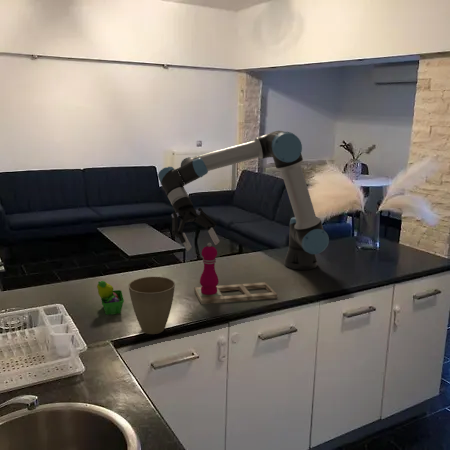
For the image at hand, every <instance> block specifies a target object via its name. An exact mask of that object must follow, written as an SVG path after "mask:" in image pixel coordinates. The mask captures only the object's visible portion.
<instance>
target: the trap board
mask: <svg viewBox="0 0 450 450" xmlns="http://www.w3.org/2000/svg"><path fill="white" fill-rule="evenodd" d="M201 287H202V286H197V287H196V286H195V287H194V288H193V289H194V293H195V295H196V297H197V299H198V301H199V303H200V304H201V305H208V304H219V303H220V304H221V303H233V302H243V301H244V302H245V301H246V302H247V301H257V300H267V299H270V300H271V299H277V298H278V294H277V292H275V290H274V288H272V287H271V286H270V285H269V284H268V283H267V282H265V281H264V282H254V283H253V282H251V283H237V284H225V285H222V284H221V285H217V286H216V287H217V293H216V294H213V295H206V294H203V293H201ZM256 289H266V290H267V292H259V293H251V292H250V291H249V290H256ZM229 291H240V293H241V294H234V295H233V294H232V295H223V294H222V292H229Z"/></svg>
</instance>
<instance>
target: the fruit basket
mask: <svg viewBox="0 0 450 450" xmlns="http://www.w3.org/2000/svg"><path fill="white" fill-rule="evenodd" d="M97 283H98V284H97V285H96V288H97V293H98V296H99V297H100V301H101V305H102V306H103V307H102V308H103V309H104V313H105V315H107V316H108V315H117V314H121V313H122V309H123V305H124V303H125V300H124V296H123V292H122V290H121V289H116V290H114V287H113V285H111V284H110V283H108V282H106V281H104V280H100V281H98V282H97Z"/></svg>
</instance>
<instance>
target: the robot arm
mask: <svg viewBox="0 0 450 450" xmlns="http://www.w3.org/2000/svg"><path fill="white" fill-rule="evenodd" d="M302 151H303V144H302V141H301V139H300V138H299V137H298V136H297V134H295V133H293V132H290V131H283V130H275V131H272V132H269V133H266V134H262V135H260V136H257V137H255V138H254V140H252V141H248V142H244V143H241V144H237V145H232V146H229V147H226V148H222V149H217V150H214V151H210V152H207V153H204V154H200V155H197V156H196V155H195V156H192V157H189V156H188V157H185V158H183V159H182V160H181V162H180V167H177V168H174V167H173V166H167V167H163V168H162V169H161V170H160V171H159V172H158V174H157V177H158V180H159V182H160V185H161V186H162V188H163V191H164V192H165V195H166V196H167V198H168V200H169V202H170V204H171V205H172V208H173V210H174V211H173V212H172V213H171V215H170V218H171V232H172V233H171V234H172V237H176V238H178V239H179V241H180V243H181V244H183V246H184V248H185V250H186V251H187V252H189V251H190V250H191V249H192V245H191V242H190V241H189V239H188V237H187V235H186V233H185V232H184V228H185V224H186V223H189V222H194V223H197V224H199V225H200V226H201V227H203V228H205V229H207V232H208V234H209V236H210V238H211V240H212V242H213V243H214V245H215V246H216V245H218V244H219V243H220V239H219V237H218V233H217V231H216V229H215V228H216V226H217V225H218V224H217V222H215V221H214V220H213V219H212V218H210V216H209V215H207V214H206V212H204V211H203V209H202V207H198V209H195V208H194V204H193V202H192V200H191V199H190V196H189V194H188V192H187V190H186V189H185V186H186V185H188V184H190V183H192V182H194V181H197V179H200V178H203V177H204V176H205V175H207V174H208V173H209V171H213V170H217V169H220V168H225V167H229V166H232V165H236V164H240V163H242V162H247V161H250V160H254V159H257V158H258V159H261V160H263V159H269V158H272V159H273V161H274V162H273V163H274V165H275V169H277V170H279V171H280V173H281V175H282V179H283V182H284V185H285V188H286V189H285V190H286V191H287V195H288V198H289V202H290V205H291V208H292V211H293V215H294V216H292V217H291V218H290V221H289V237H288V241H289V242H288V250H287V252H286V255H285V258H284V266H285V267H287V268H289V269H293V270H299V271H300V270H301V271H307V270H308V271H309V270H313V269H316V268H317V266H318V260H317V256H316V255H318V254H321V253H323V252H325V250H327V247H328V246H329V242H330V239H329V238H330V237H329V235H328V233H327V232H326V231H325V230H324V228H323V223H322V219H321V218H320V217H317V215H316V212H315V209H314V205H313V202H312V199H311V196H310V192H309V189H308V184H307V181H306V178H305V174H304V171H303V167H302V165H301V164H302V162H303V161H304V159H303V155H302ZM178 219H180V221H179V225H178ZM178 226H179V227H178Z"/></svg>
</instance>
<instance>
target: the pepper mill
mask: <svg viewBox="0 0 450 450" xmlns="http://www.w3.org/2000/svg"><path fill="white" fill-rule="evenodd" d="M212 244H213V243H212V242H207V244H206V245H207V246H204V247H203V248H202V250H201V257H202V263H203V271H202V273H201V275H200V278H199V284H200V285H201V286H200V287H201V293H203V294H206V295H213V294H216V293H217V287H216V286H219V285H218V284H219V276H218V274H217V271H216V269H215V267H216V266H215V265H216V263H217V261H216V260H217V255H218V250H217V248H216V247H214V246H212Z"/></svg>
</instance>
